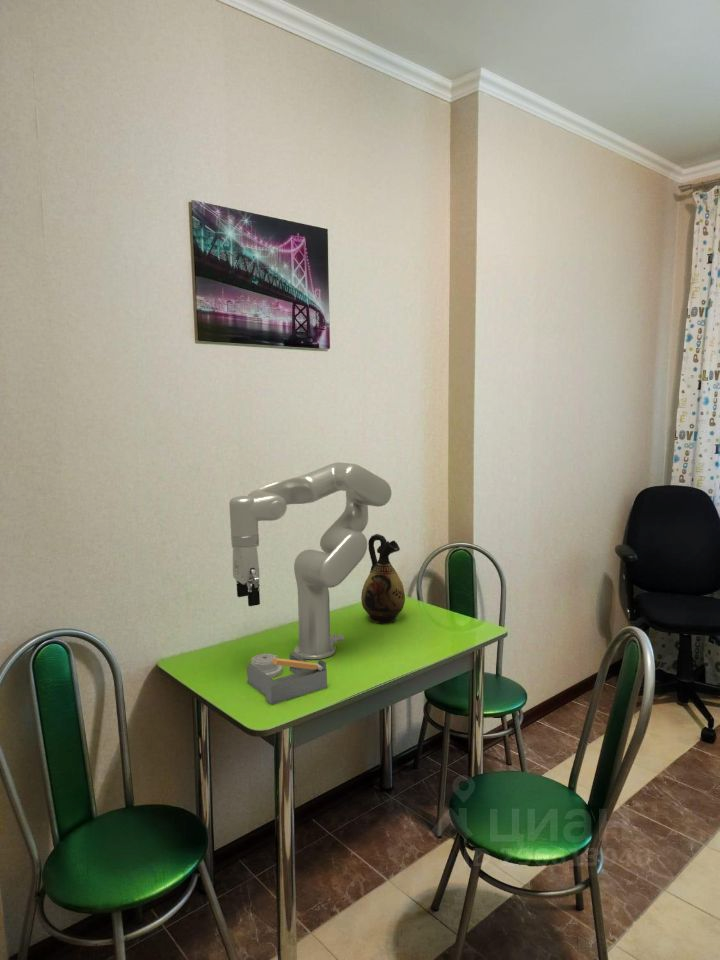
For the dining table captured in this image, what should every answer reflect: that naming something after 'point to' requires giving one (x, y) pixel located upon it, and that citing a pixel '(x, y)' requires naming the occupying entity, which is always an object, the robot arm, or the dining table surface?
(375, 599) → the ceramic jug
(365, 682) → the dining table surface
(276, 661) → the bar
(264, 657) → the mechanical component
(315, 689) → the bracket
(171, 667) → the dining table surface
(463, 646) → the dining table surface
